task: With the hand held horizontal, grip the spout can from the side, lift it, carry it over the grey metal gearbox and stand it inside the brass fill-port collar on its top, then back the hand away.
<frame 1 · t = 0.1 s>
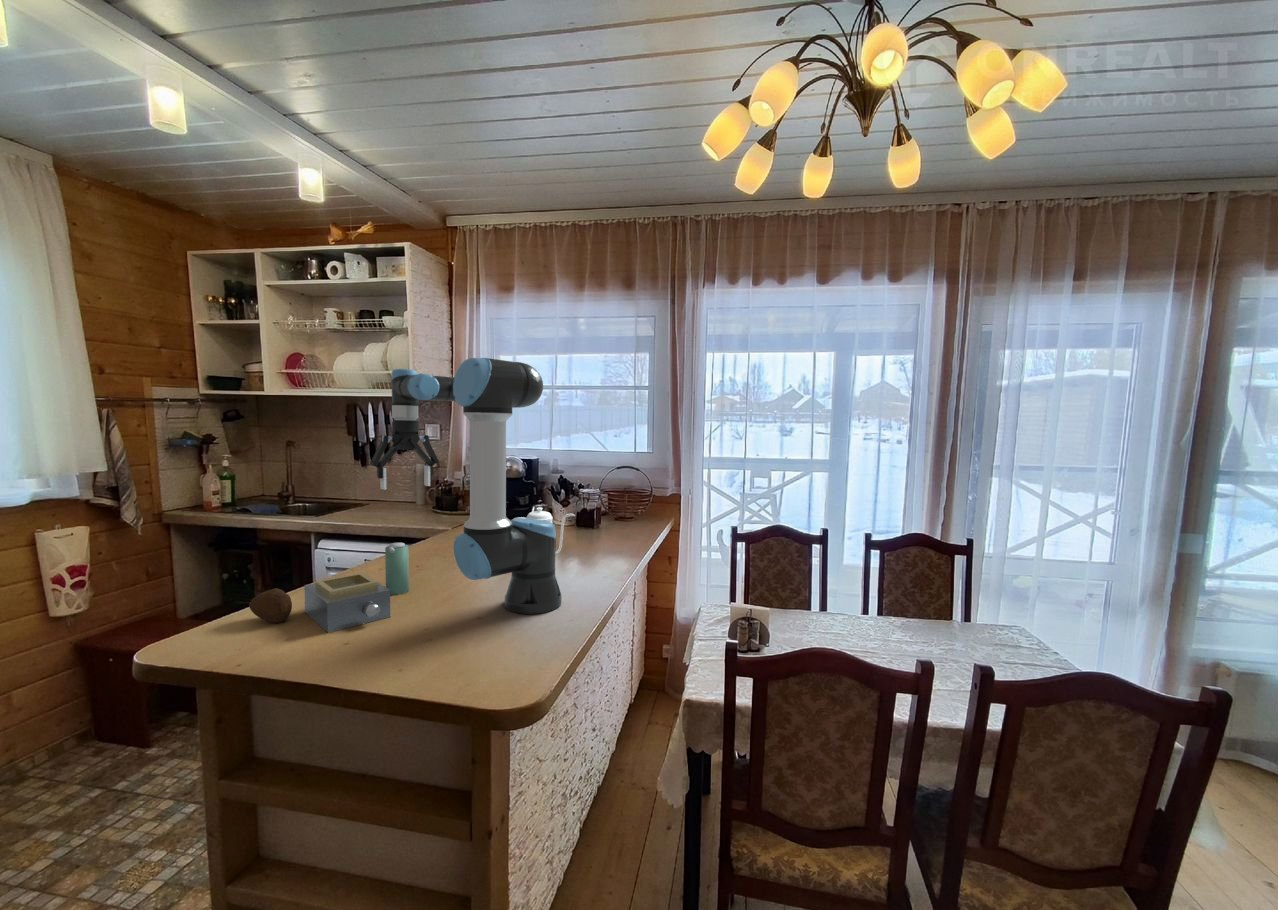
hand: (406, 487, 163), 28 cm above the countertop, tool pointing down, fingers open, 13 cm apart
gearbox: (347, 614, 131), on the countertop
potato: (273, 621, 126), on the countertop
can: (397, 591, 149), on the countertop
coffeepot: (540, 560, 185), on the countertop
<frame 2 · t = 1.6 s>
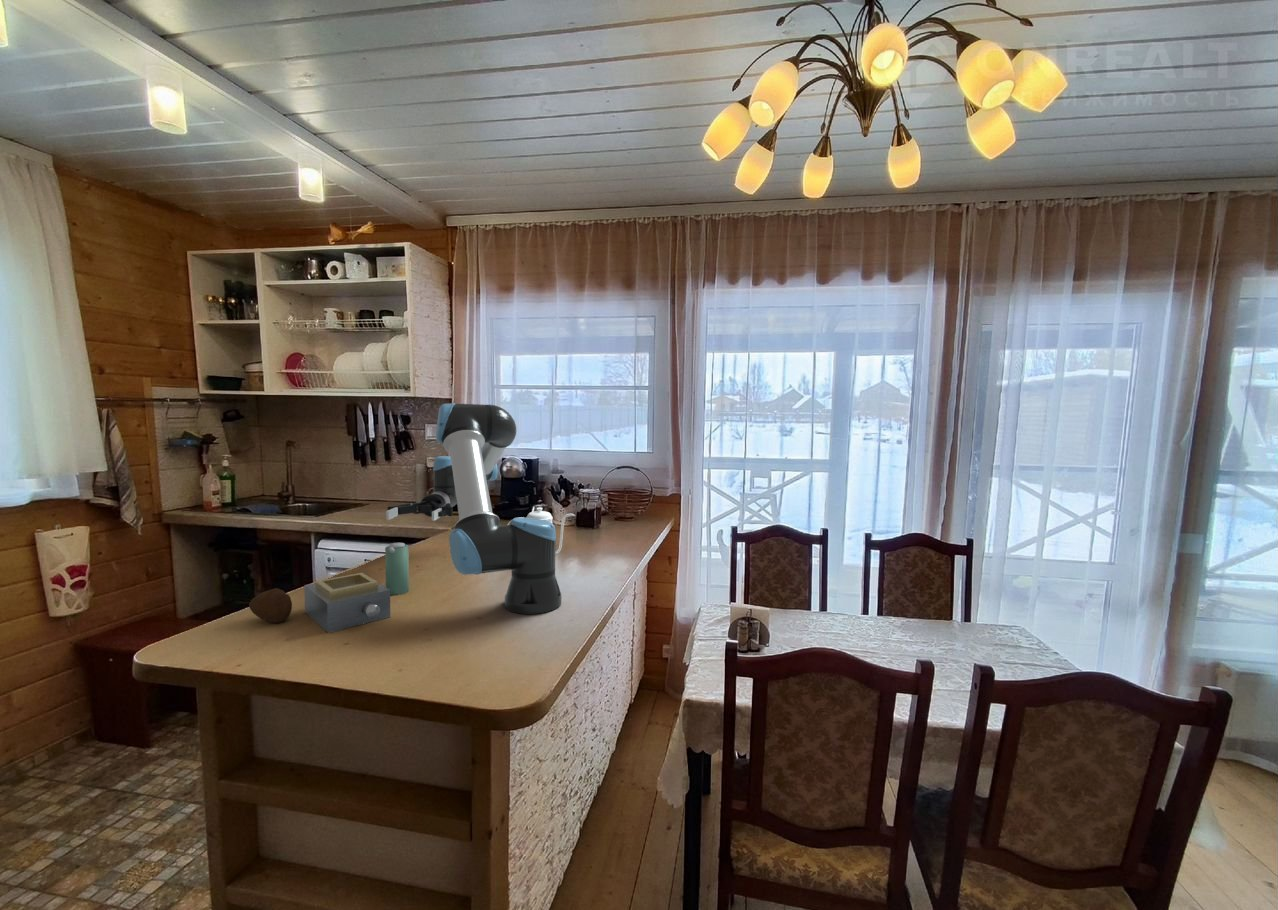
hand: (410, 516, 157), 20 cm above the countertop, tool horizontal, fingers open, 13 cm apart
nothing on the countertop moved.
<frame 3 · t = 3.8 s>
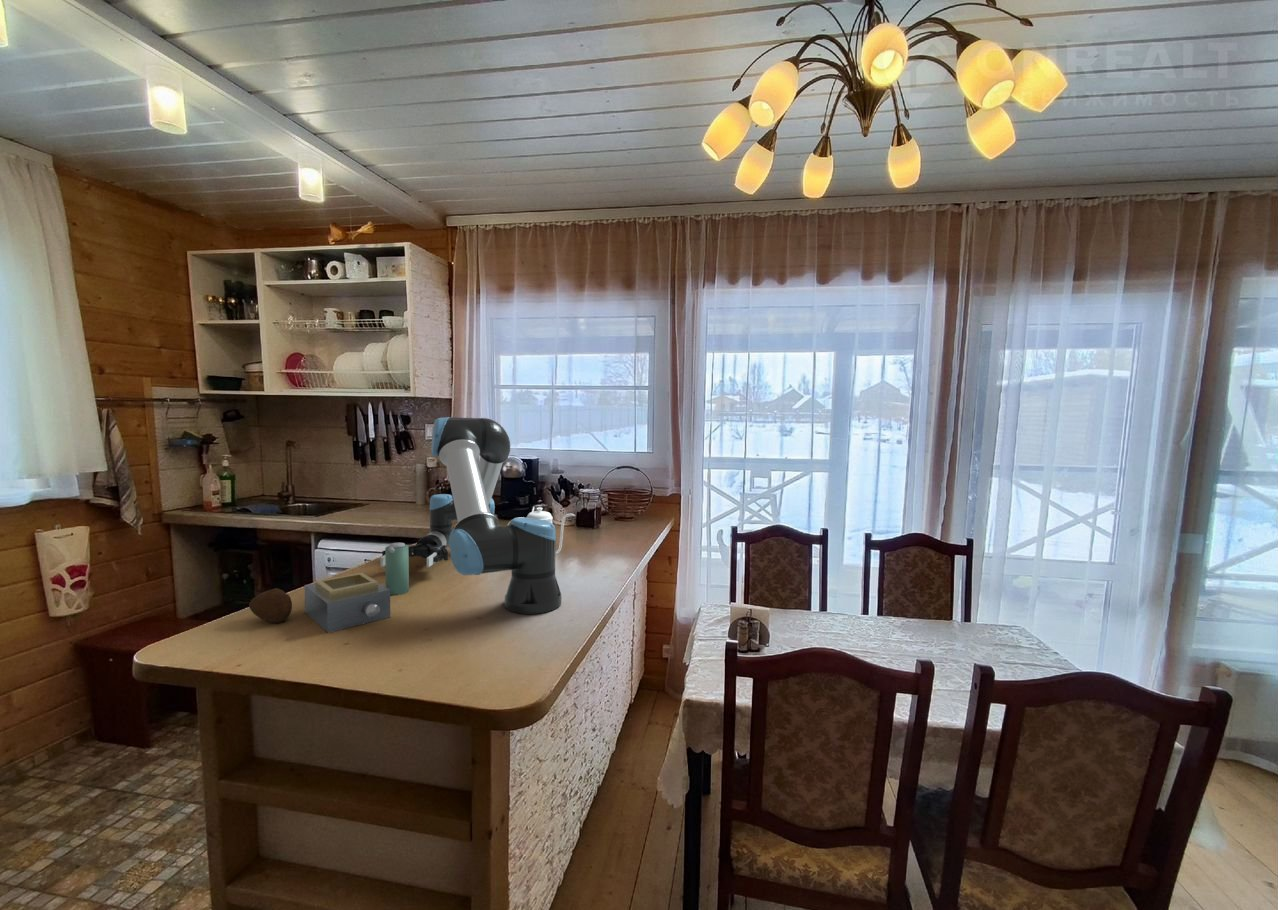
hand: (404, 562, 154), 7 cm above the countertop, tool horizontal, fingers open, 13 cm apart
nothing on the countertop moved.
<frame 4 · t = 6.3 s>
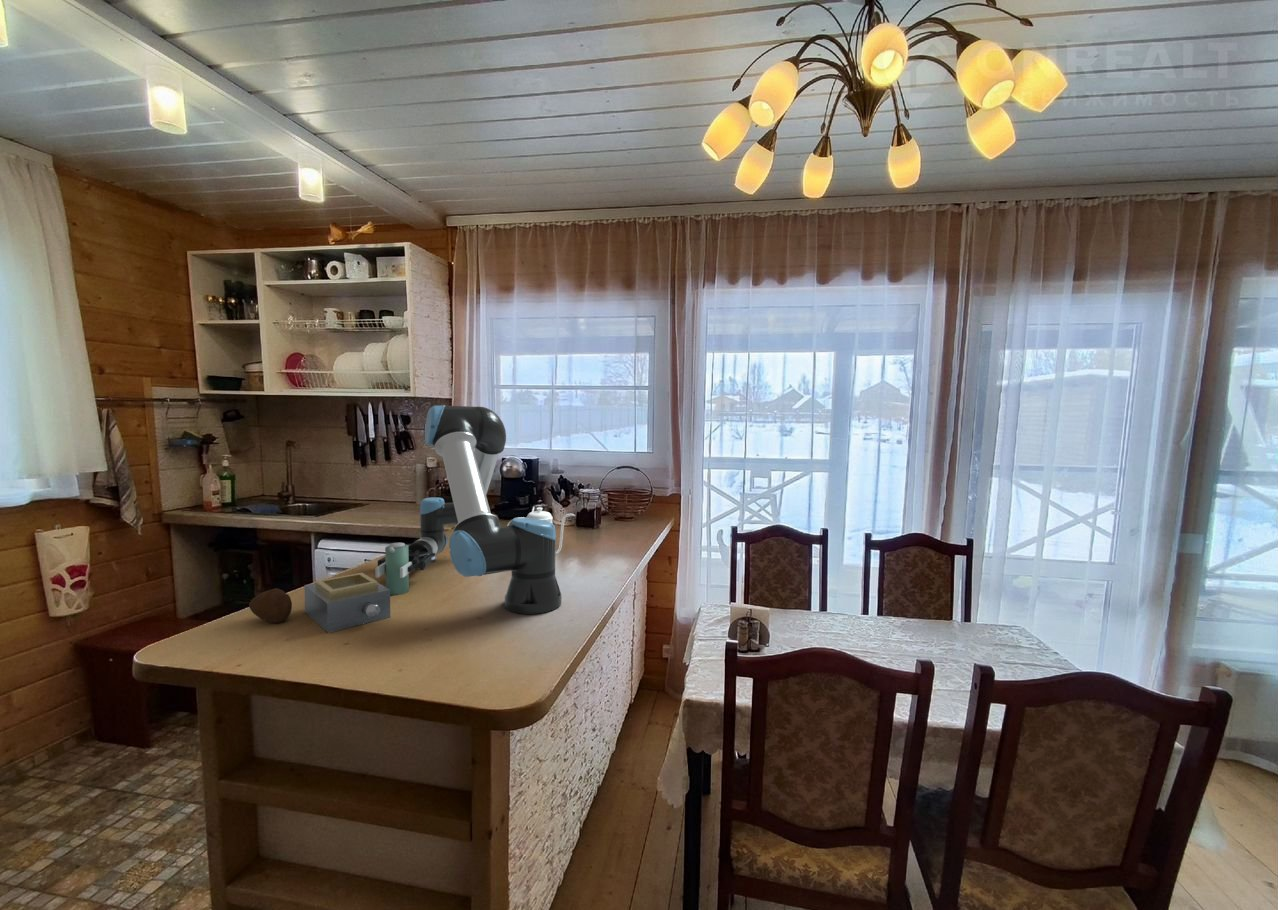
hand: (389, 572, 143), 7 cm above the countertop, tool horizontal, fingers closed on can, 6 cm apart
can: (397, 591, 149), on the countertop, touching gripper
everything else where it was.
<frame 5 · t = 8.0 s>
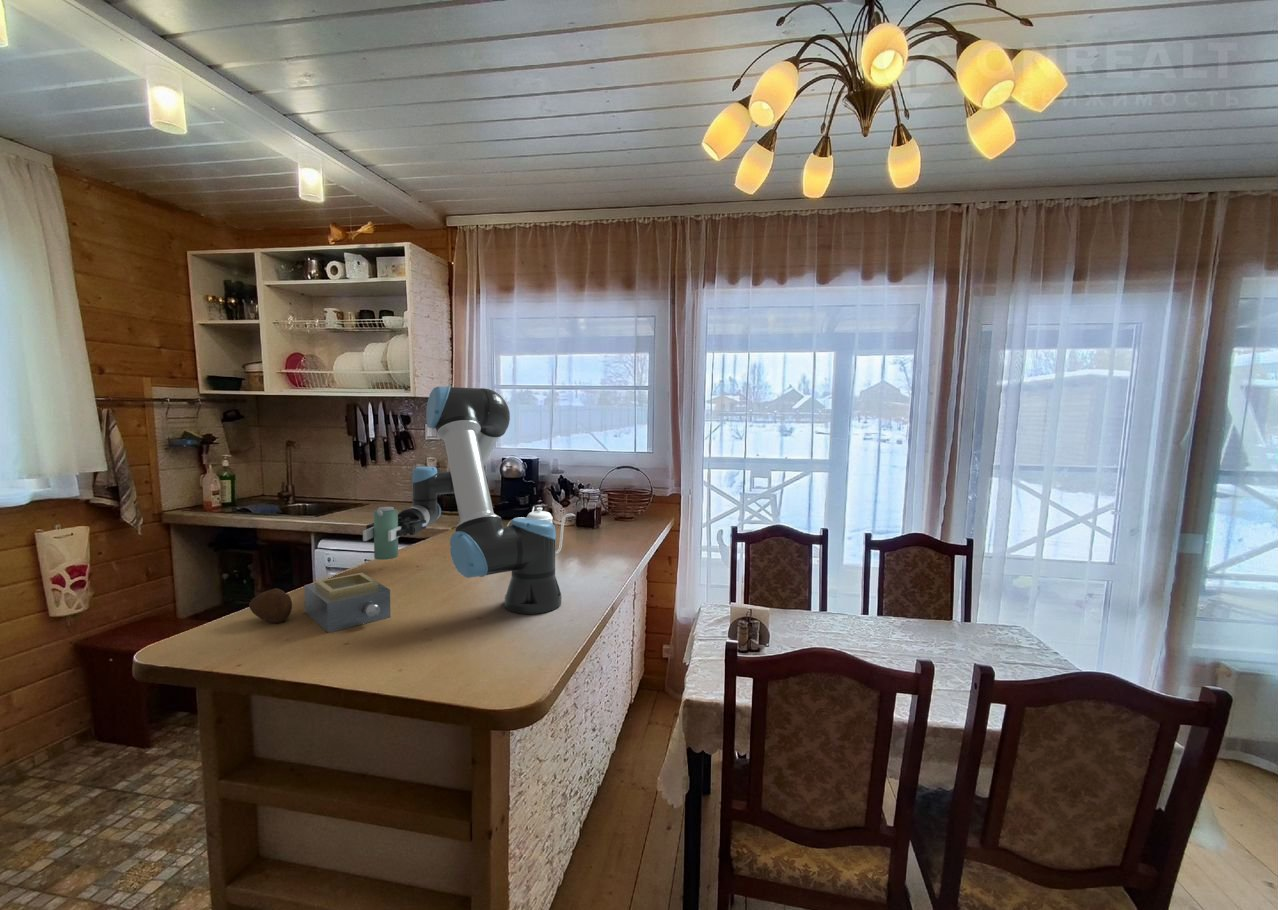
hand: (377, 536, 140), 18 cm above the countertop, tool horizontal, fingers closed on can, 6 cm apart
can: (386, 556, 145), point 11 cm above the countertop, touching gripper
everything else where it was.
when the fingers open (15 cm above the countertop, at t = 10.2 s): can stays where it is, resting on gearbox.
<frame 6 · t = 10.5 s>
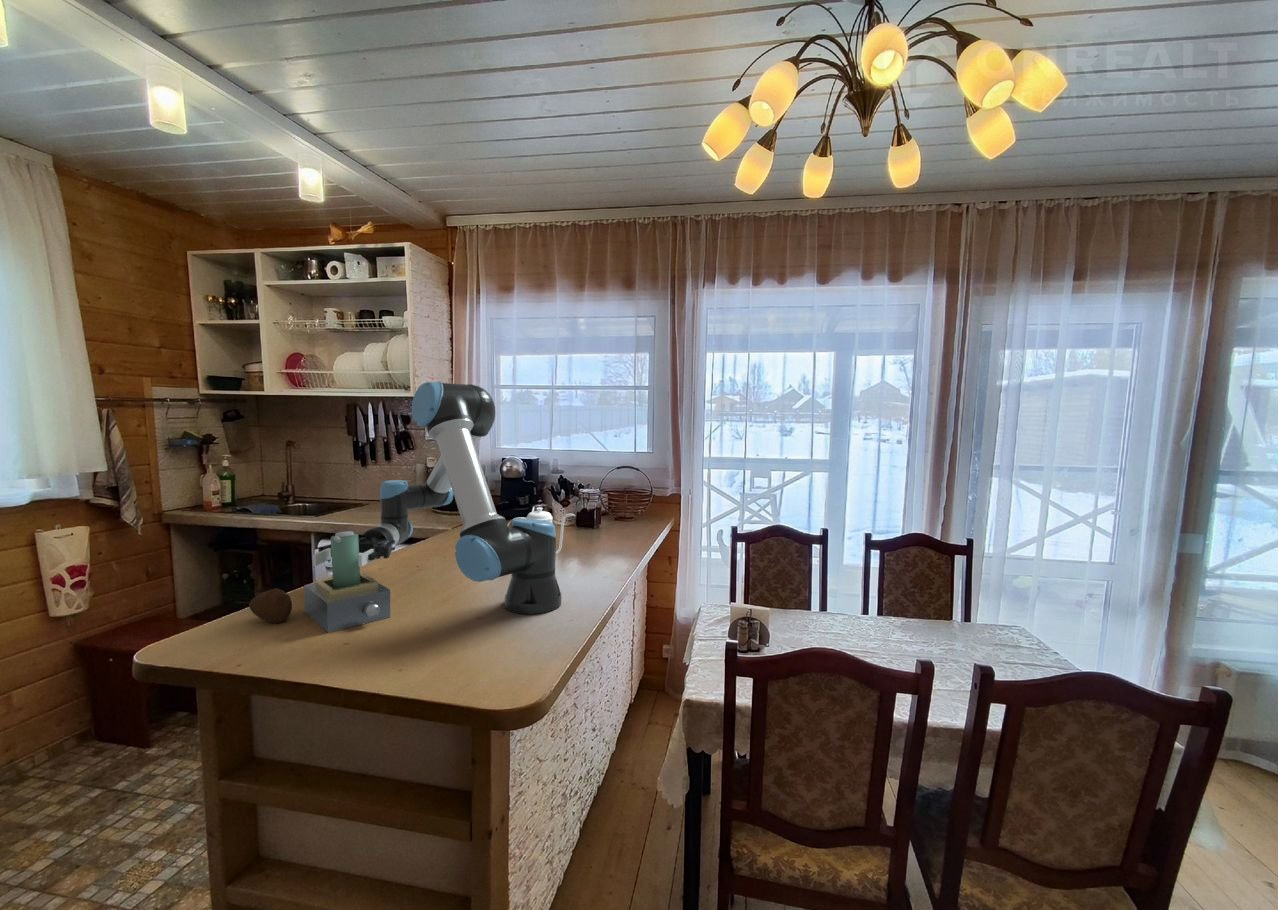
hand: (337, 560, 126), 15 cm above the countertop, tool horizontal, fingers open, 10 cm apart
can: (347, 587, 131), point 7 cm above the countertop, touching gearbox
everything else where it was.
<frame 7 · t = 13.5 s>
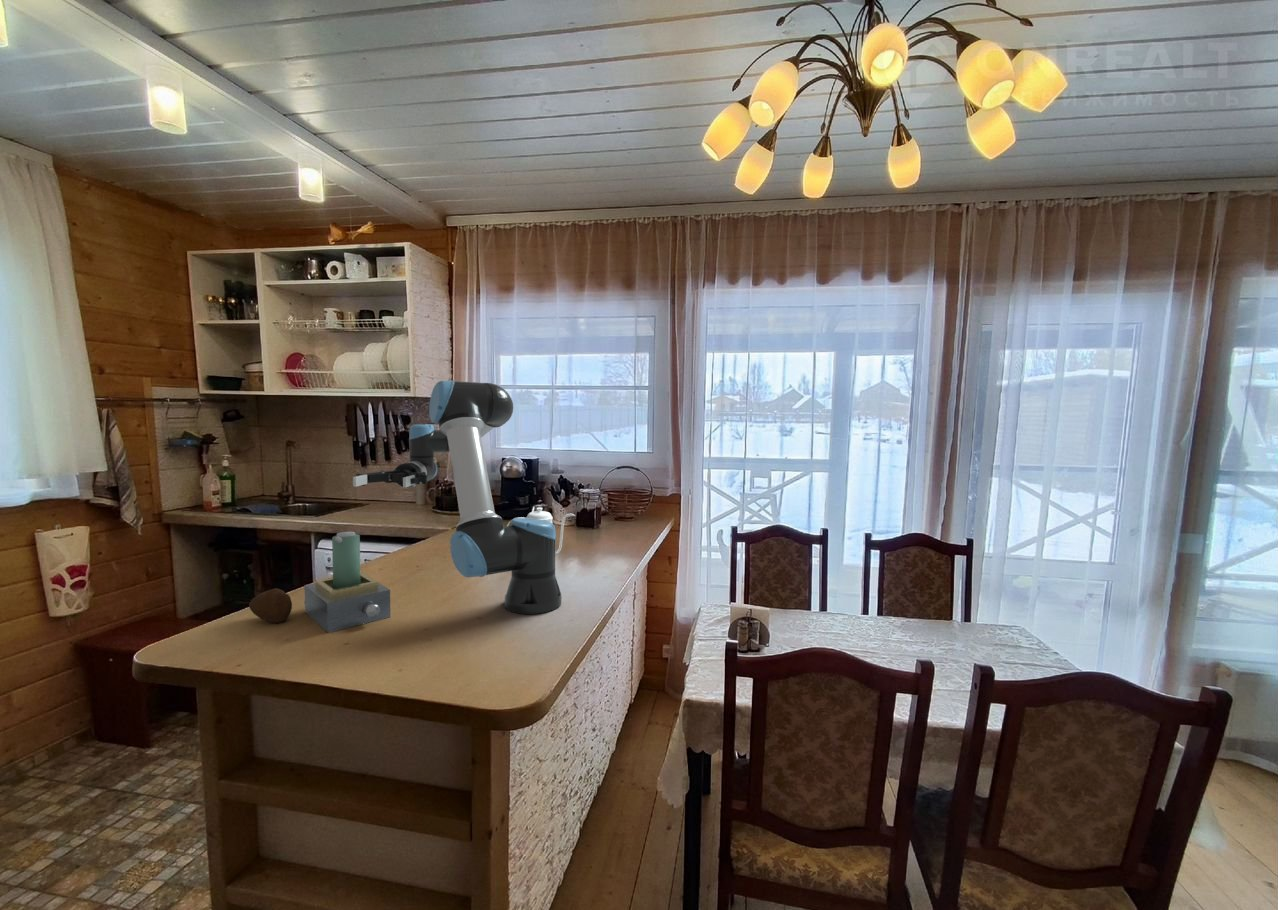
hand: (379, 482, 144), 32 cm above the countertop, tool horizontal, fingers open, 13 cm apart
nothing on the countertop moved.
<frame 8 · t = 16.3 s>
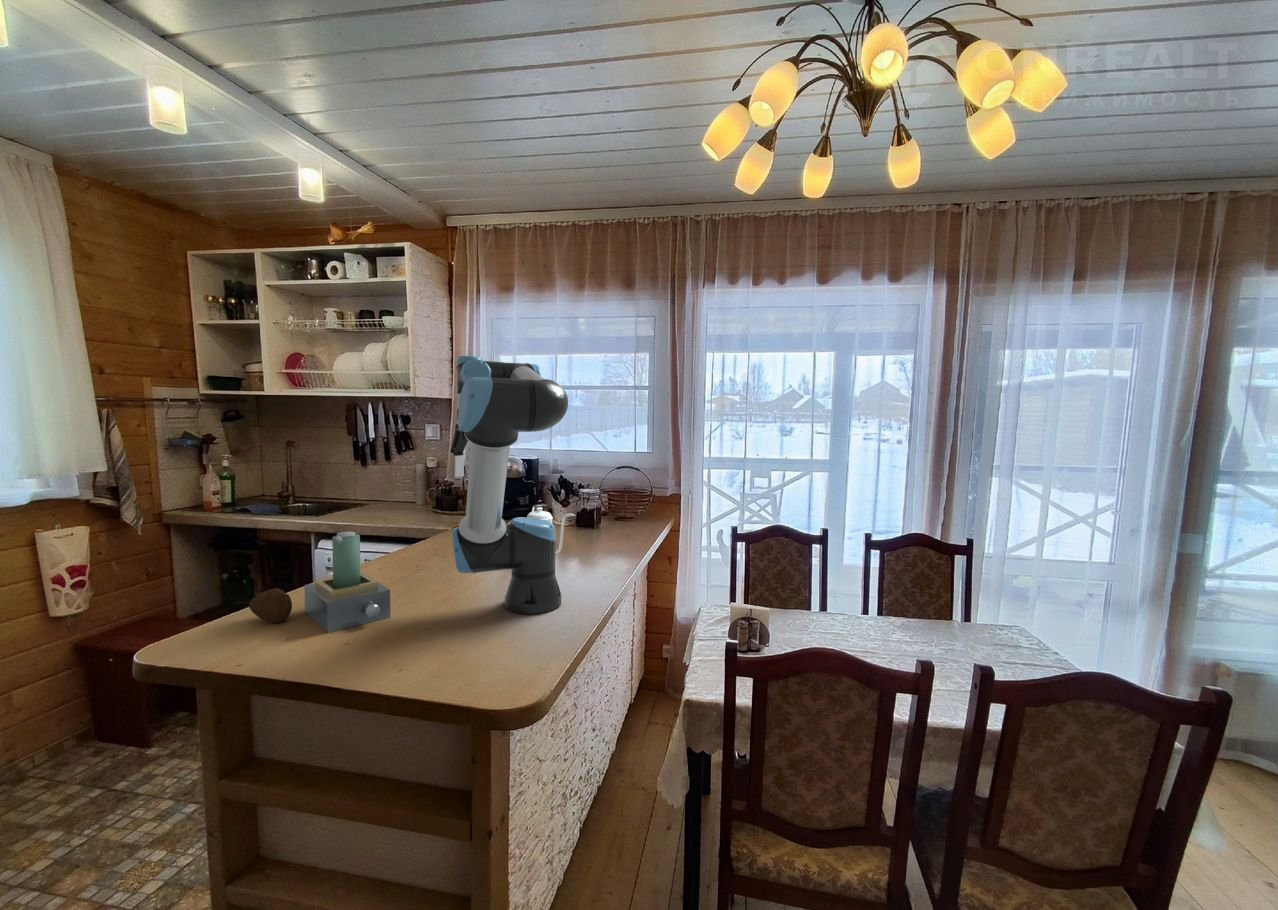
hand: (470, 478, 158), 32 cm above the countertop, tool pointing down, fingers open, 13 cm apart
nothing on the countertop moved.
at the end: can inside the target area on the gearbox (0.1 cm from its centre), point 7.0 cm above the gearbox's base; can tilted 0°; the gripper is holding nothing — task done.
